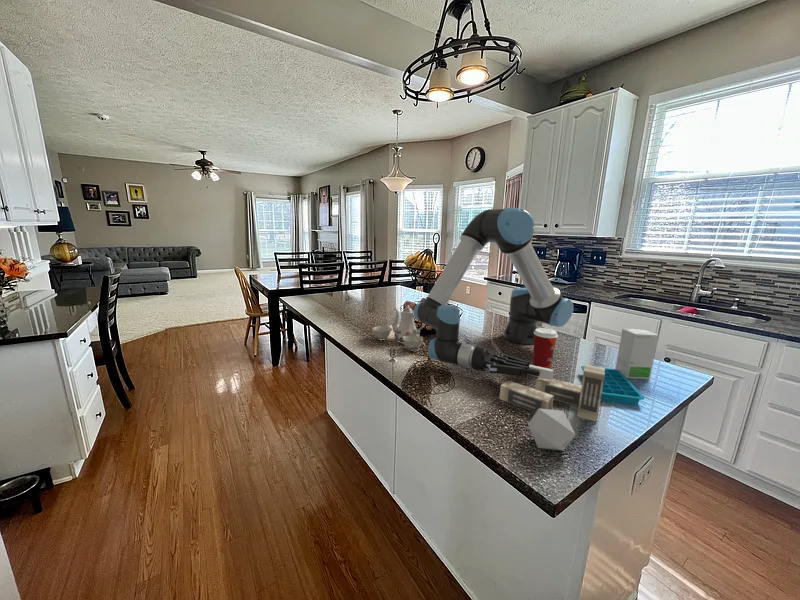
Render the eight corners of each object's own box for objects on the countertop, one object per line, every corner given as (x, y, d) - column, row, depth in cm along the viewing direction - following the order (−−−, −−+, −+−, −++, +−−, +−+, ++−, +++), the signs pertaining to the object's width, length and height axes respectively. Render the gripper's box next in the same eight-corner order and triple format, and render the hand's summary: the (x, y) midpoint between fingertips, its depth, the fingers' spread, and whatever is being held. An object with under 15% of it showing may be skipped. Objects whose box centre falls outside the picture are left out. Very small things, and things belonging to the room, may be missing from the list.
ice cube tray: (617, 377, 109) (618, 369, 109) (644, 409, 90) (646, 399, 90) (579, 373, 112) (580, 365, 112) (597, 402, 93) (599, 393, 93)
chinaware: (365, 344, 140) (362, 307, 136) (389, 331, 153) (387, 297, 148) (419, 360, 124) (418, 319, 119) (441, 344, 137) (441, 307, 132)
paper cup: (555, 374, 110) (561, 335, 107) (531, 372, 112) (536, 333, 109) (550, 365, 118) (555, 328, 115) (527, 363, 119) (531, 326, 116)
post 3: (578, 408, 89) (584, 364, 86) (597, 413, 87) (604, 368, 84) (577, 417, 85) (583, 370, 82) (596, 422, 83) (604, 375, 80)
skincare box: (625, 379, 108) (634, 334, 104) (613, 370, 114) (620, 328, 111) (651, 379, 108) (660, 334, 104) (637, 371, 114) (645, 328, 111)
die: (562, 467, 68) (589, 427, 68) (524, 439, 69) (551, 401, 70) (550, 455, 76) (574, 419, 76) (516, 430, 78) (540, 395, 78)
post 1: (507, 380, 96) (553, 395, 87) (506, 394, 97) (551, 410, 88) (500, 385, 92) (547, 402, 84) (498, 400, 93) (545, 418, 85)
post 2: (539, 375, 99) (587, 387, 93) (537, 389, 100) (585, 401, 94) (536, 381, 95) (586, 394, 89) (534, 395, 96) (584, 409, 90)
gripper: (479, 361, 113) (553, 378, 101) (466, 375, 102) (547, 396, 90) (481, 340, 111) (556, 355, 99) (467, 352, 100) (550, 370, 89)
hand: (552, 374), depth 95 cm, fingers closed
